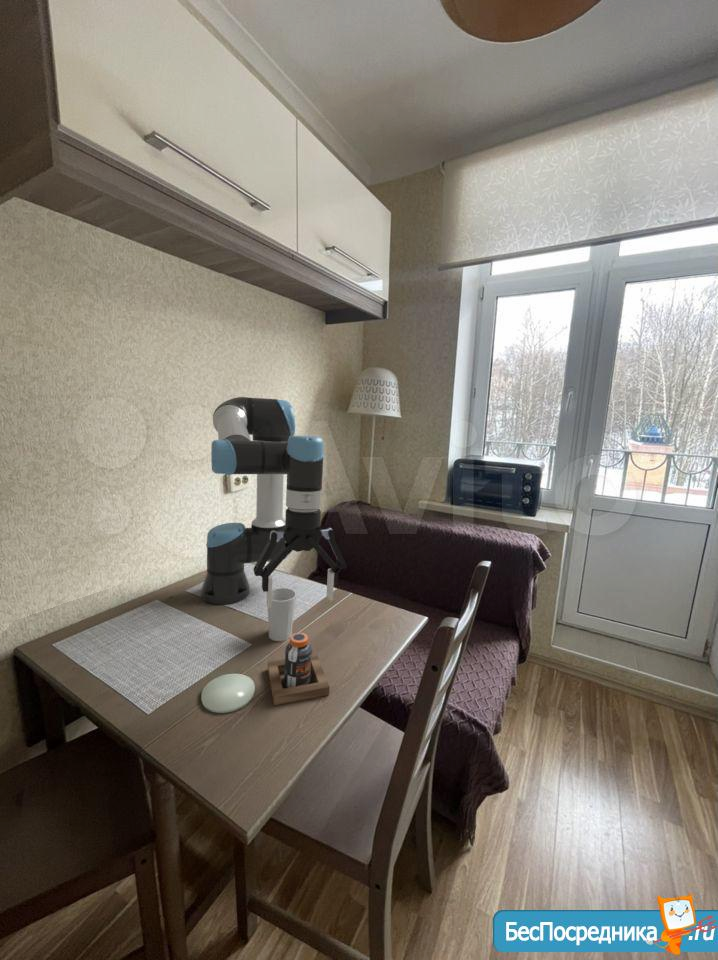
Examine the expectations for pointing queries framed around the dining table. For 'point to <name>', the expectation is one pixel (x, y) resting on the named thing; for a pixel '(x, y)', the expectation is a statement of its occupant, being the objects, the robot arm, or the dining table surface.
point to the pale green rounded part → (228, 693)
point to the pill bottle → (297, 661)
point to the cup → (281, 614)
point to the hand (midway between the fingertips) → (300, 601)
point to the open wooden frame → (297, 692)
